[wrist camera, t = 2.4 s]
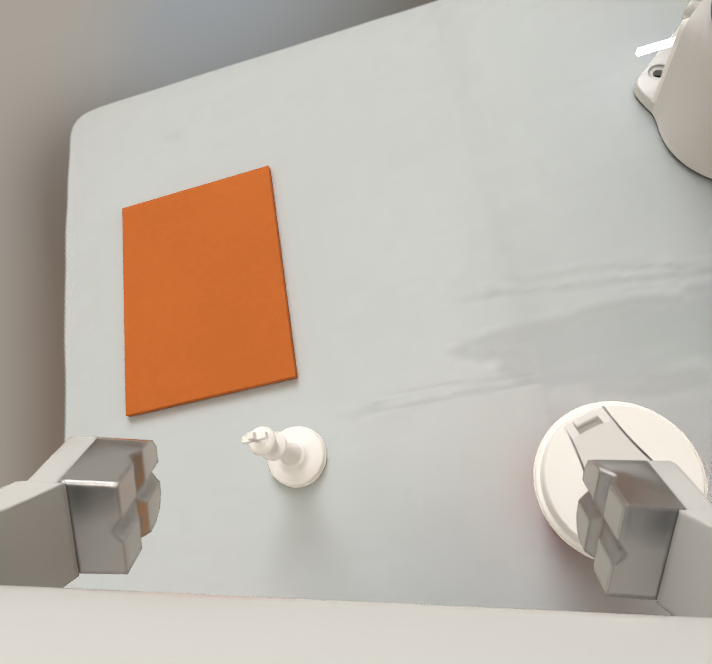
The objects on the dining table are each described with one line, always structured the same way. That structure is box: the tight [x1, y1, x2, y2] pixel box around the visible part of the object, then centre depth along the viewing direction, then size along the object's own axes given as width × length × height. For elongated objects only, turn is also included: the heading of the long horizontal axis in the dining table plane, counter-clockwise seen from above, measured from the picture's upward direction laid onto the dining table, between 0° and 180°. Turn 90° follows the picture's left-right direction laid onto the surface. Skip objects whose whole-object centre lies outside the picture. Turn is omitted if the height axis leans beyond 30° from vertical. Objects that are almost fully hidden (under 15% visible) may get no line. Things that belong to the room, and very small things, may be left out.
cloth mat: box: [122, 166, 297, 417], centre depth 56 cm, size 22×16×1 cm
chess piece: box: [242, 426, 327, 488], centre depth 44 cm, size 5×5×10 cm
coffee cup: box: [533, 401, 708, 560], centre depth 36 cm, size 8×8×15 cm
